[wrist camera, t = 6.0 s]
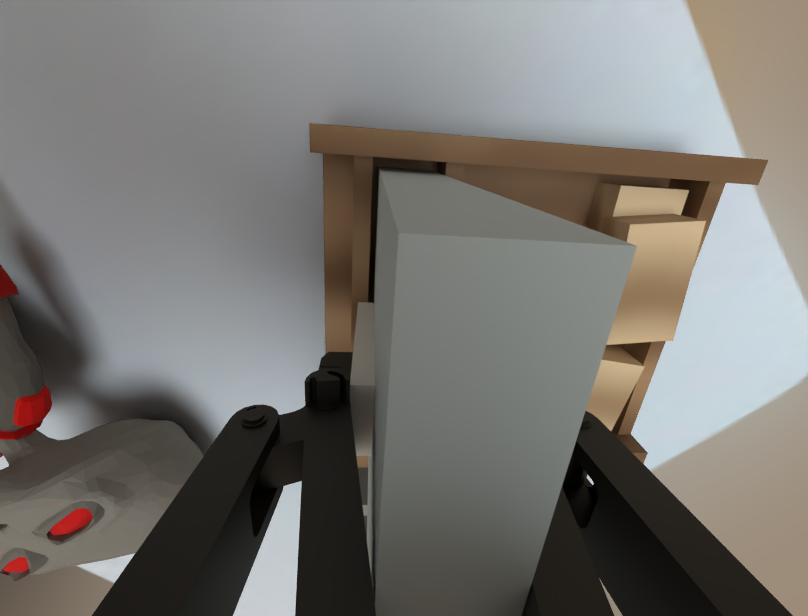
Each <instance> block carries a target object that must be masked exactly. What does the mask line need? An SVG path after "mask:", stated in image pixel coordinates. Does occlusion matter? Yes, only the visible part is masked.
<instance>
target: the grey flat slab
mask: <svg viewBox="0 0 808 616" xmlns="http://www.w3.org/2000/svg"><path fill="white" fill-rule="evenodd" d="M636 248H637V246H636V245H633V244H630V243H628V242H625V241H622V240H619V239H617V238H614V237H611V236H608V235H606V234H603V233H600V232H598V231H595V230H592V229H589V228H587V227H584V226H581V225H579V224H576V223H573V222H570V221H568V220H565V219H562V218H559V217H557V216H554V215H551V214H549V213H546V212H543V211H540V210H538V209H535V208H532V207H530V206H527V205H524V204H521V203H519V202H516V201H513V200H510V199H508V198H505V197H502V196H500V195H497V194H494V193H491V192H489V191H486V190H483V189H481V188H478V187H475V186H472V185H470V184H467V183H464V182H461V181H459V180H456V179H453V178H451V177H448V176H445V175H442V174H440V173H437V172H434V171H432V170H421V169H406V168H392V167H379V173H378V197H377V222H376V247H375V271H374V296H373V303H374V305H375V396H374V417H373V438H372V456H368V503H367V546H368V554H369V563H370V571H371V579H372V587H373V595H374V603H375V611H376V616H522V612H523V609H524V606H525V603H526V600H527V596H528V593H529V590H530V587H531V584H532V580H533V577H534V574H535V571H536V568H537V564H538V561H539V558H540V555H541V552H542V549H543V545H544V542H545V539H546V536H547V533H548V529H549V526H550V523H551V520H552V517H553V513H554V510H555V507H556V504H557V501H558V497H559V494H560V491H561V488H562V485H563V481H564V478H565V475H566V472H567V469H568V465H569V462H570V459H571V456H572V453H573V449H574V446H575V443H576V440H577V437H578V433H579V430H580V427H581V424H582V421H583V417H584V414H585V411H586V408H587V405H588V401H589V398H590V395H591V392H592V389H593V385H594V382H595V379H596V376H597V373H598V369H599V366H600V363H601V360H602V357H603V354H604V350H605V347H606V344H607V341H608V338H609V334H610V331H611V328H612V325H613V322H614V318H615V315H616V312H617V309H618V306H619V302H620V299H621V296H622V293H623V290H624V286H625V283H626V280H627V277H628V274H629V270H630V267H631V264H632V261H633V258H634V254H635V251H636Z"/></svg>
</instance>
